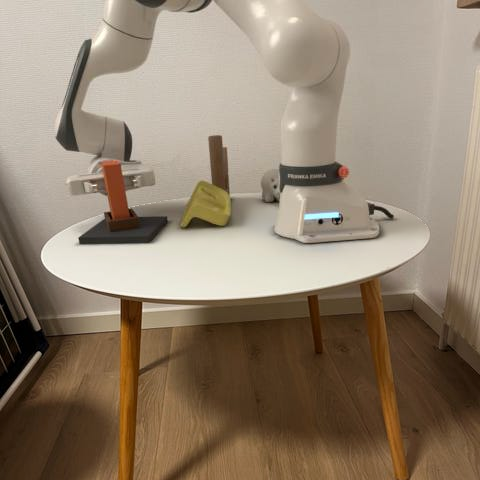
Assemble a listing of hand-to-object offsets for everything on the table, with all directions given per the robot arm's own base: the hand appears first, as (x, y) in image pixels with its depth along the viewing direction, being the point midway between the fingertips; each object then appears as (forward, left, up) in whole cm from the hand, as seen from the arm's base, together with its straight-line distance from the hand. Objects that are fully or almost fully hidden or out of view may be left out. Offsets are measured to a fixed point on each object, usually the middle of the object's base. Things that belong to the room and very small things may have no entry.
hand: (115, 186), depth 97 cm
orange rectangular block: (+1, -1, -9) cm, 9 cm away
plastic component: (-19, -11, -11) cm, 24 cm away
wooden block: (-20, -26, -11) cm, 34 cm away
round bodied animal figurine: (-35, -25, -11) cm, 44 cm away
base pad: (-1, 0, -11) cm, 11 cm away
